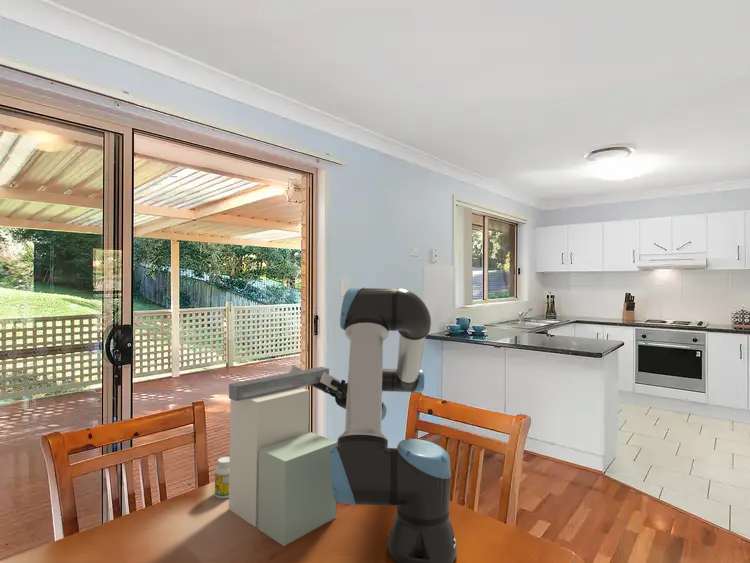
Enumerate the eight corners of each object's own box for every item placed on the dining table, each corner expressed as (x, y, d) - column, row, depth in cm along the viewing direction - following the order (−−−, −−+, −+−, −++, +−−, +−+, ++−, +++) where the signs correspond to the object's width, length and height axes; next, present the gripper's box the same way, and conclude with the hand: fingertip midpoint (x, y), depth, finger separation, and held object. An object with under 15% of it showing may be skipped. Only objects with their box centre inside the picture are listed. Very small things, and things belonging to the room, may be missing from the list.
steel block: (320, 378, 131) (321, 366, 131) (328, 380, 129) (329, 368, 129) (228, 398, 108) (229, 384, 108) (236, 401, 106) (236, 386, 106)
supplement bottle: (237, 496, 120) (237, 461, 120) (216, 501, 118) (217, 465, 118) (232, 487, 125) (233, 454, 125) (212, 492, 122) (213, 457, 122)
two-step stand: (279, 487, 126) (281, 382, 125) (335, 517, 111) (338, 398, 110) (228, 508, 114) (230, 392, 113) (283, 546, 99) (286, 412, 98)
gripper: (377, 418, 129) (331, 394, 115) (320, 401, 145) (274, 378, 132) (385, 394, 132) (342, 367, 118) (328, 380, 148) (284, 355, 134)
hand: (306, 373), depth 125 cm, fingers open, 13 cm apart
